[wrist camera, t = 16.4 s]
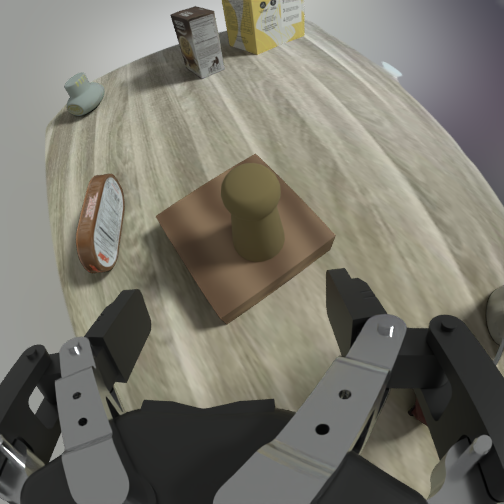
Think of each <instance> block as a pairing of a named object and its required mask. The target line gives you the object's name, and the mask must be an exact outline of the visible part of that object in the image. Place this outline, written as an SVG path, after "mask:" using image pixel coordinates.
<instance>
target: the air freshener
mask: <svg viewBox="0 0 504 504" xmlns="http://www.w3.org/2000/svg"><path fill="white" fill-rule="evenodd" d="M64 87H65V89H66V91H67V92H68V94H69V96H70V98H69V100H68V102H67V110H68V111H69V112H70V113H71V114H73V115H77V116H81V115H84V114H87V113H88V112H90V111H92V110H93V109H94V108H95V107H96V106H97V105H98V104H99V103H100V102H101V100H102V98H103V96H104V87H103V86H102V85H101V84H99V83H95V82H92V83H90V82H89V81H88V79H87V77H86V75H85V74H84V73H79V74H76V75H75V76H73V77H72V78H70V79H69V80H68V81H67V82H66V83H65V86H64Z"/></svg>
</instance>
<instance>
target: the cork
mask: <svg viewBox="0 0 504 504" xmlns="http://www.w3.org/2000/svg"><path fill="white" fill-rule="evenodd" d="M280 196H281V190H280V183H279V181H278V179H277V177H276V175H275V173H273V172H272V171H271V170H270V169H269V168H267V167H265V166H263V165H261V164H257V163H245V164H242V165H239V166H237V167H235V168H233V169H232V170H231V171H230V172H229V173H228V174H227V175H226V176H225V178H224V180H223V182H222V184H221V198H222V201H223V204H224V206H225V208H226V209H227V210H228V211H229V212H230V213H231V222H232V239H233V245H234V248H235V250H236V251H237V253H238V254H239V255H240V256H241V257H243V258H244V259H246V260H249V261H253V262H264V261H267V260H270V259H272V258H273V257H275V256H276V255H277V254H278V253H279V252H280V250H281V249H282V248H283V245H284V241H285V235H284V230H283V226H282V222H281V219H280V215H279V212H278V208H277V205H278V202H279V199H280Z"/></svg>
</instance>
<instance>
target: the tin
mask: <svg viewBox="0 0 504 504" xmlns="http://www.w3.org/2000/svg"><path fill="white" fill-rule="evenodd" d="M124 207H125V206H124V195H123V190H122V188H121V186H120V184H119V182H118V180H117V179H116V177H115V176H114V175H113V174H104V175H96V176H94V177H93V178H92V179H91V180H90V182H89V184H88V187H87V191H86V195H85V198H84V202H83V206H82V210H81V215H80V218H79V223H78V227H77V232H76V247H77V253H78V256H79V259H80V261H81V264H82V265H83V267H84V268H85V269H86V270H87V271H88V272H90V273H97V272H106V271H109V270H111V269H112V268H113V267H114V265H115V263H116V261H117V257H118V251H119V243H120V236H121V229H122V223H123V216H124Z"/></svg>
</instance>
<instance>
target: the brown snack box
mask: <svg viewBox="0 0 504 504" xmlns="http://www.w3.org/2000/svg"><path fill="white" fill-rule="evenodd" d="M171 18H172V22H173V25H174V28H175V32H176V35H177V38H178V41H179V45H180V48H181V52H182V55H183V58H184V62H185V65H186V68H188V69H189V70H191V71H192V72H193V73H195V74H196V75H198V76H199V77H200V78H202V79H203V78H205V77H207V76H210V75H212V74H214V73H217V72H219V71H222V70H224V69H225V67H224V62H223V56H222V51H221V45H220V40H219V34H218V30H217V24H216V18H215V13H214V11H212V10H207V9H204V8H200V7H196V6H195V7H192V8H189V9H185V10H182V11H179V12H176V13H174V14H171Z"/></svg>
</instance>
